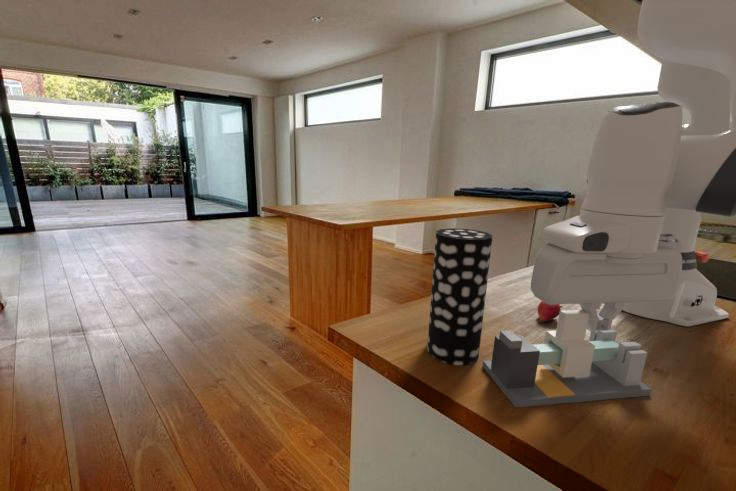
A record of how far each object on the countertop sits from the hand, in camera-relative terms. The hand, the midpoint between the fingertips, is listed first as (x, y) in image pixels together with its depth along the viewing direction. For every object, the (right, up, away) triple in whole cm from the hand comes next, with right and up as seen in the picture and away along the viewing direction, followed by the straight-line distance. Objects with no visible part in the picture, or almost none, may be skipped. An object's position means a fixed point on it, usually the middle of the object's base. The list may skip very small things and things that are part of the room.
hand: (596, 329), depth 48 cm
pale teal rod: (-4, -4, +1) cm, 6 cm away
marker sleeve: (-4, -6, +1) cm, 7 cm away
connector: (-12, -8, 0) cm, 14 cm away
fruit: (+4, -4, +21) cm, 22 cm away
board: (-4, -8, +1) cm, 9 cm away
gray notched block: (+4, -8, +3) cm, 9 cm away
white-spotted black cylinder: (-18, -6, +9) cm, 21 cm away
